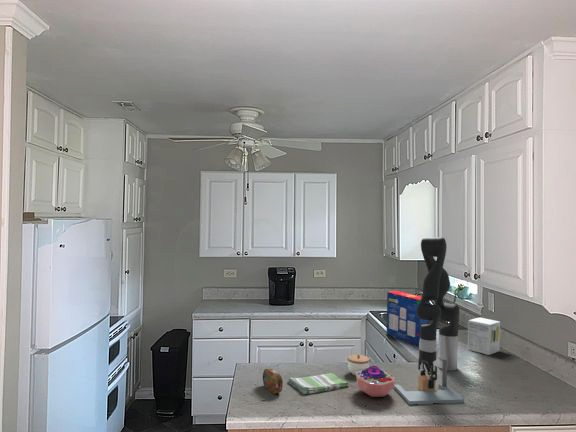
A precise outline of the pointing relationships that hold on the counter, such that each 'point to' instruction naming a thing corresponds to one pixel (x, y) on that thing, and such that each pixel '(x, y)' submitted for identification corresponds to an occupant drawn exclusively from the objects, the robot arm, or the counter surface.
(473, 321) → the supplement box
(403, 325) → the blue cardboard box
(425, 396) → the screw clamp
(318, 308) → the counter surface
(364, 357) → the lidded jar
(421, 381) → the tan wooden brick
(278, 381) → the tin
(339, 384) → the dish towel
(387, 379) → the cell model
